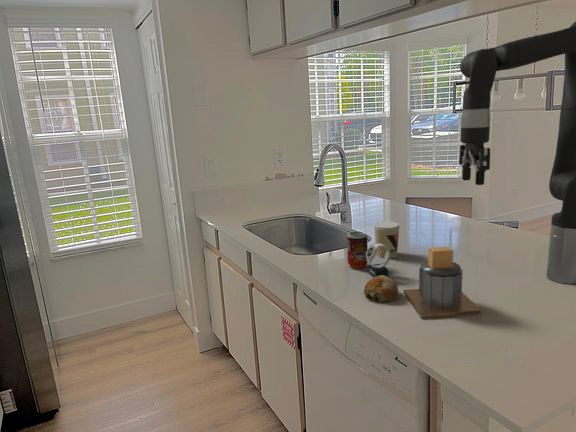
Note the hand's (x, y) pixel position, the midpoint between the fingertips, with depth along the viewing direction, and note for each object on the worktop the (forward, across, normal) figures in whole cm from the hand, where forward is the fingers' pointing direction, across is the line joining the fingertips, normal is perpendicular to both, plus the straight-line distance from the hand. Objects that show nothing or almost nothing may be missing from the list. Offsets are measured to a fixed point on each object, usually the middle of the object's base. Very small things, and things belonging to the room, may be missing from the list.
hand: (472, 182), depth 124 cm
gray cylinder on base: (+32, -11, +13) cm, 36 cm away
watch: (+32, +12, +25) cm, 43 cm away
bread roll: (+32, -4, +28) cm, 43 cm away
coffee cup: (+32, +32, +17) cm, 49 cm away
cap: (+23, -11, +13) cm, 29 cm away
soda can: (+32, +22, +30) cm, 49 cm away
